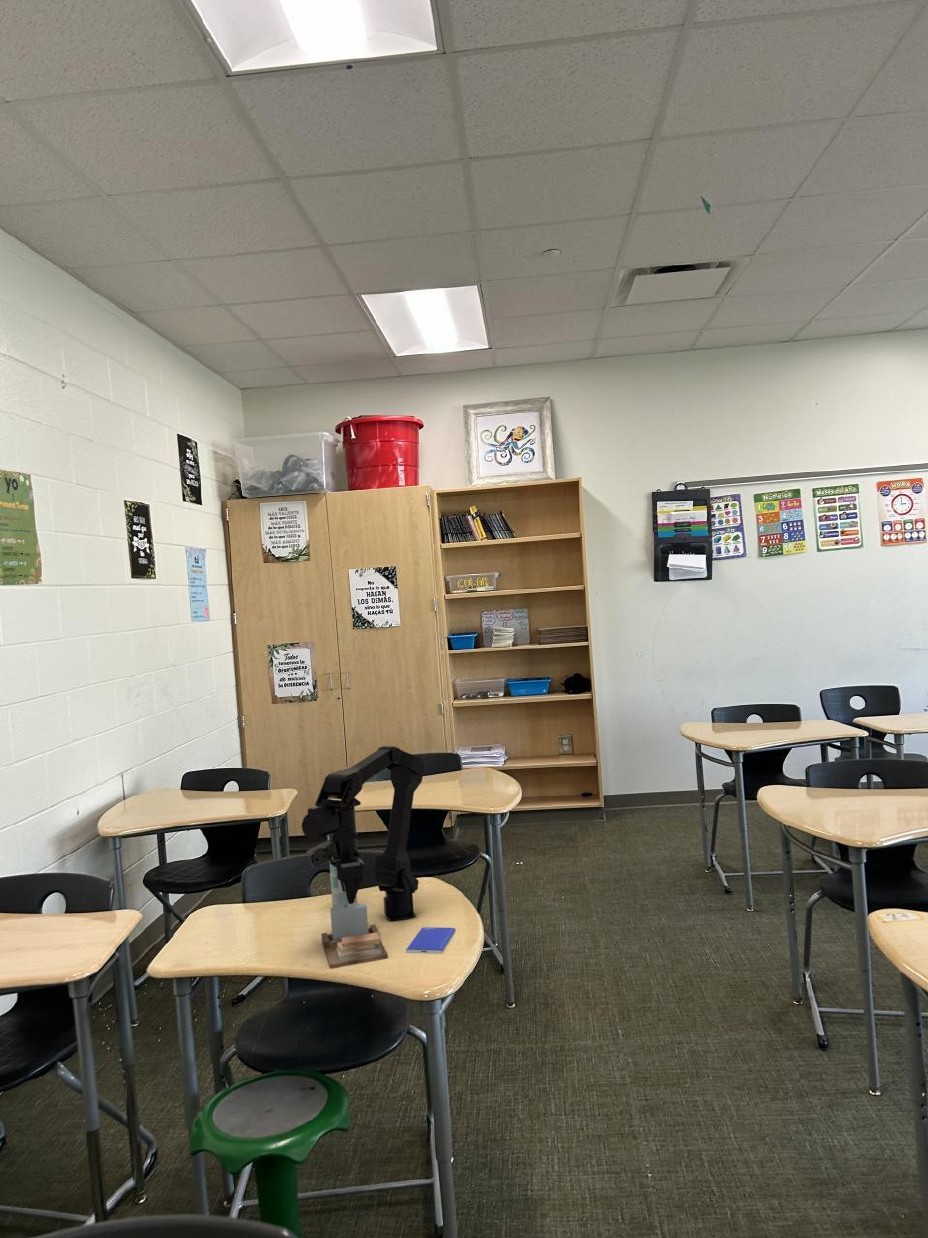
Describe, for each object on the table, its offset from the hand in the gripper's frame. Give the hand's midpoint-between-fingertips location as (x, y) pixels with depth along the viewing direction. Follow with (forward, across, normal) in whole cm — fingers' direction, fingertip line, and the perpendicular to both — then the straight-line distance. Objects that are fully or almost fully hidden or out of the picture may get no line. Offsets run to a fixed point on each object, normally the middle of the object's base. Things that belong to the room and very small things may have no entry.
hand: (348, 897), depth 184 cm
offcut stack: (+10, +9, 0) cm, 14 cm away
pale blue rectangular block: (+10, 0, 0) cm, 10 cm away
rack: (+10, +5, 0) cm, 11 cm away
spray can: (+10, -24, +2) cm, 26 cm away
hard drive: (+11, +8, +17) cm, 22 cm away
